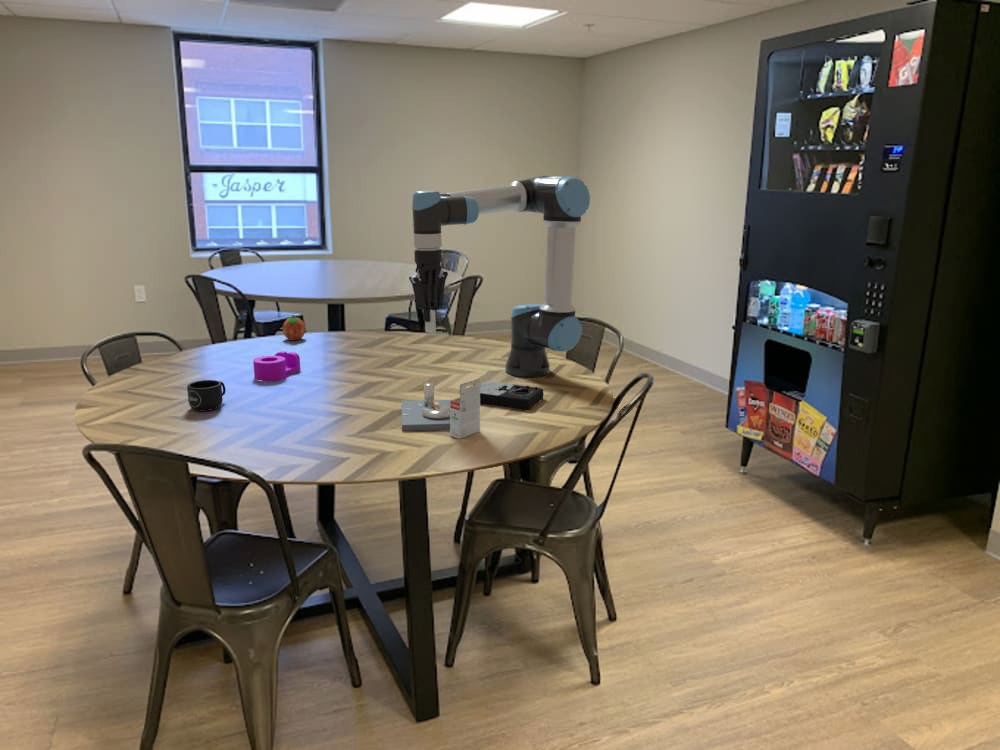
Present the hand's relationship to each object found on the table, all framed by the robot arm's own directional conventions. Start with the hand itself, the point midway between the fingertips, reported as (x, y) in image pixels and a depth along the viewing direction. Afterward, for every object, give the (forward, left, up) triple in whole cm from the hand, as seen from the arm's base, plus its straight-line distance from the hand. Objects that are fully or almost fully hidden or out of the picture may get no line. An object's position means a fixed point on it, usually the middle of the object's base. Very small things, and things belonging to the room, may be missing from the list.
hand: (430, 332), depth 214 cm
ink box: (-8, +25, -22) cm, 34 cm away
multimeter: (-23, -3, -22) cm, 32 cm away
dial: (-1, +10, -20) cm, 23 cm away
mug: (+63, -4, -22) cm, 67 cm away
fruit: (+50, -89, -22) cm, 104 cm away
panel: (-1, +11, -22) cm, 24 cm away
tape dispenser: (+49, -37, -22) cm, 65 cm away
